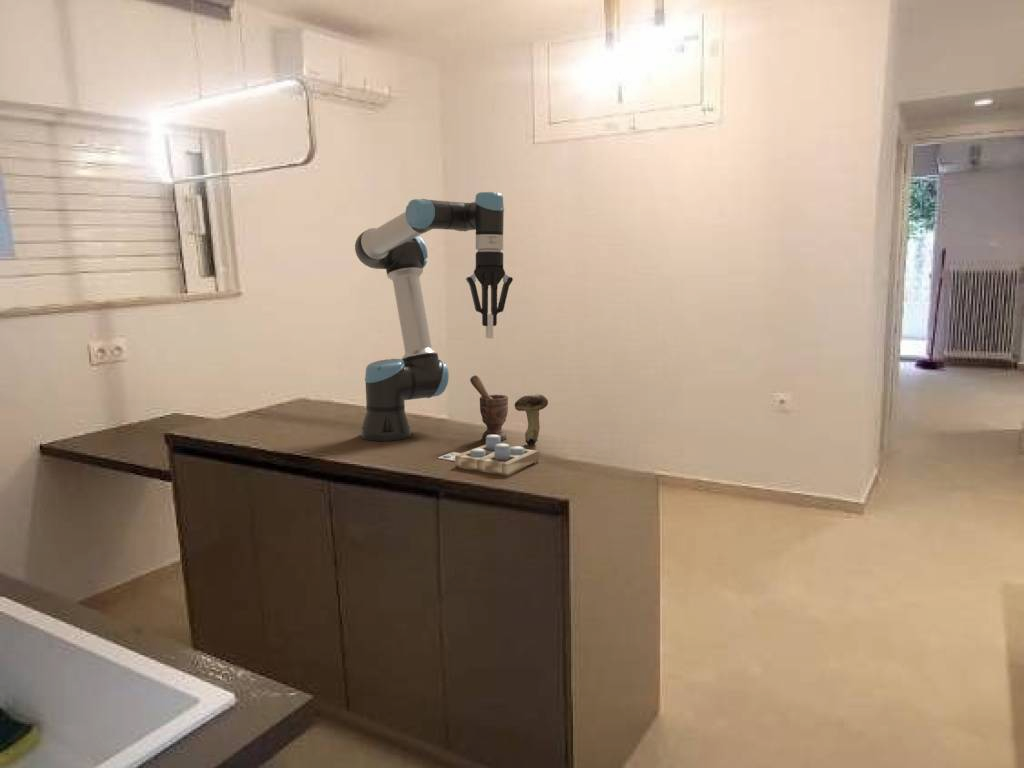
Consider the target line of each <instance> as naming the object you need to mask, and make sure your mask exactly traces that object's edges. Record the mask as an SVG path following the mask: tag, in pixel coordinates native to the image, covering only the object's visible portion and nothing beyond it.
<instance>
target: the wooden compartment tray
mask: <svg viewBox="0 0 1024 768" xmlns="http://www.w3.org/2000/svg"><path fill="white" fill-rule="evenodd" d="M511 447H512V446H510V448H511ZM476 448H480V449H484V450H485V451H486V456H484V457H482V458H479V457H472V456H470V450H467V451H464V452H461V453H462V454H459V455H456V456H455V461H454V462H455V463H454V464H455V465H454V466H455V468H458V469H465V470H471V471H476V472H483V473H488V474H494V475H501V476H504V477H506V476H507V477H509V476H510V475H513V474H515V473H517V471H518V472H520V471H522V470H524V469H526V468H528V467H527V466H529V465H531V464H533V463H535V462H537V461H540V459H539V458H540V456H539V455H540V451H539V450H533V449H528V448H525V454H523V455H514V454H510V460H508V461H497V460H495V459H494V457H495V451H488V450H486V444H484V445H481V446H478V447H475V448H474V449H476ZM537 463H538V462H537ZM535 464H536V463H535ZM533 465H534V464H533ZM531 466H532V465H531ZM525 467H526V468H525ZM529 467H530V466H529ZM523 468H524V469H523ZM521 469H522V470H521ZM519 470H520V471H519Z"/></svg>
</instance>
